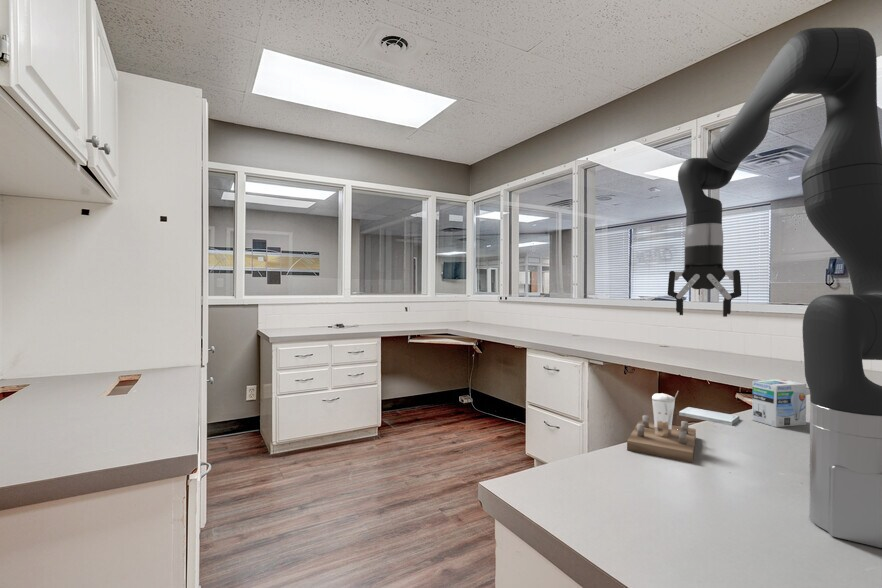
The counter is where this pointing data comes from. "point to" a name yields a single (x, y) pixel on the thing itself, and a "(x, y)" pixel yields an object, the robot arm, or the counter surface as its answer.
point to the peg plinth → (663, 441)
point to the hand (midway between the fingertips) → (702, 315)
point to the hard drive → (709, 416)
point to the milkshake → (663, 413)
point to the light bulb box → (779, 402)
